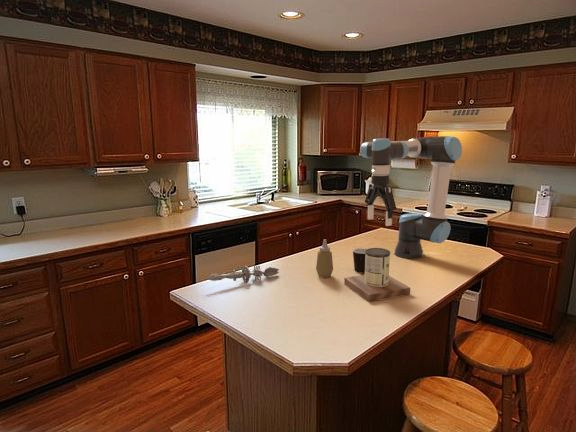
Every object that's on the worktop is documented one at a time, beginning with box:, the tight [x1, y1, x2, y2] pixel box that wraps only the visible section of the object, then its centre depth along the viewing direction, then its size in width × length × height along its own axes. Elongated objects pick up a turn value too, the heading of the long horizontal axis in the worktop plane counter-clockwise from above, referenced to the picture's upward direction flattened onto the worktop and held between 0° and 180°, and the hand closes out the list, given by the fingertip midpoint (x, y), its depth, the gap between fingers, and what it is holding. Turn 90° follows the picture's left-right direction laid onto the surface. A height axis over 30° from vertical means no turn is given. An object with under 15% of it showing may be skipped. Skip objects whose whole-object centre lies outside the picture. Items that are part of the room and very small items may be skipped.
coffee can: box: [364, 247, 391, 287], centre depth 161 cm, size 10×10×14 cm
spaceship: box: [207, 265, 280, 284], centre depth 171 cm, size 8×35×8 cm
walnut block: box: [343, 274, 411, 303], centre depth 163 cm, size 20×20×3 cm
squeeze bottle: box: [315, 239, 334, 279], centre depth 177 cm, size 8×8×18 cm
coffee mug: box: [352, 247, 367, 274], centre depth 184 cm, size 12×9×10 cm
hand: (379, 222), depth 169 cm, fingers open, 13 cm apart
